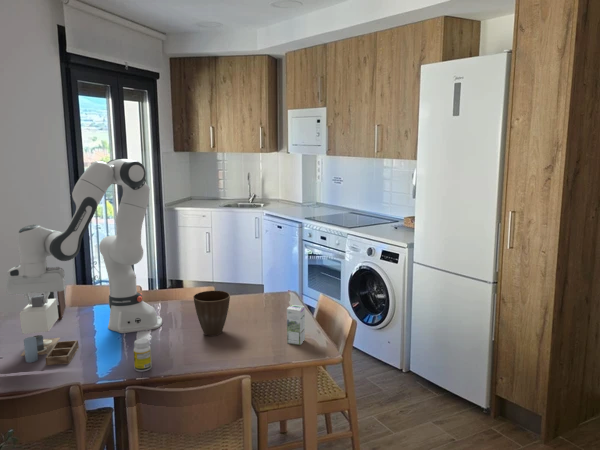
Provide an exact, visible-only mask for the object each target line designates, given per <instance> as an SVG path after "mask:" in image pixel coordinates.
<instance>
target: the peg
mask: <svg viewBox="0 0 600 450" xmlns="http://www.w3.org/2000/svg"><path fill="white" fill-rule="evenodd" d="M23 346H24V351H25V356H24V357H25V358H24V359H25V363H35V362H37V361H38V360H39V355H38V352H37V341H36V337H33V336H29V337H25V338H24V339H23Z"/></svg>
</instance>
